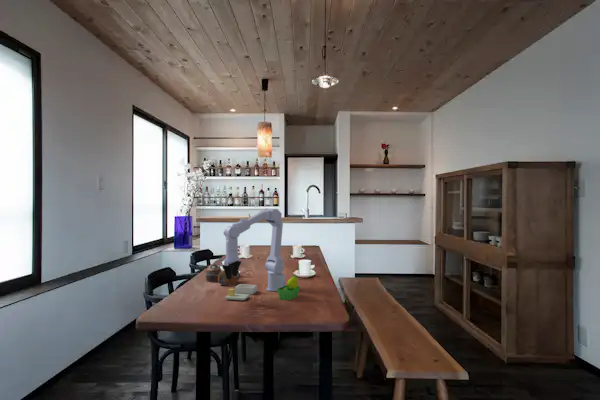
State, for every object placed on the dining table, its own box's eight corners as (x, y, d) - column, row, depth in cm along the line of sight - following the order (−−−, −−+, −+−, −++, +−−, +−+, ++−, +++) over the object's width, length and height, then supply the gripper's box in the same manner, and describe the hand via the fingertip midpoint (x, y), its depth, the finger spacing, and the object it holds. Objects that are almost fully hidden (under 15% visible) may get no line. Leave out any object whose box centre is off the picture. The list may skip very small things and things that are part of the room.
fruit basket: (288, 294, 185) (288, 272, 185) (303, 296, 181) (303, 274, 181) (276, 299, 175) (276, 276, 175) (291, 302, 171) (291, 278, 171)
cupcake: (212, 278, 222) (212, 262, 222) (224, 279, 217) (224, 263, 217) (201, 281, 213) (201, 264, 213) (214, 283, 209) (214, 266, 209)
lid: (249, 297, 179) (249, 288, 179) (244, 301, 172) (244, 292, 172) (230, 296, 181) (230, 287, 181) (224, 300, 174) (224, 290, 174)
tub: (256, 291, 190) (256, 284, 190) (252, 294, 184) (252, 287, 184) (239, 290, 192) (239, 284, 192) (235, 293, 186) (235, 287, 186)
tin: (220, 286, 201) (220, 271, 201) (216, 285, 203) (216, 271, 203) (240, 281, 213) (240, 267, 213) (236, 280, 215) (236, 267, 215)
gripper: (230, 248, 185) (230, 274, 185) (218, 252, 171) (218, 280, 171) (242, 248, 184) (242, 274, 184) (232, 252, 169) (232, 281, 169)
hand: (231, 277), depth 177 cm, fingers open, 7 cm apart
